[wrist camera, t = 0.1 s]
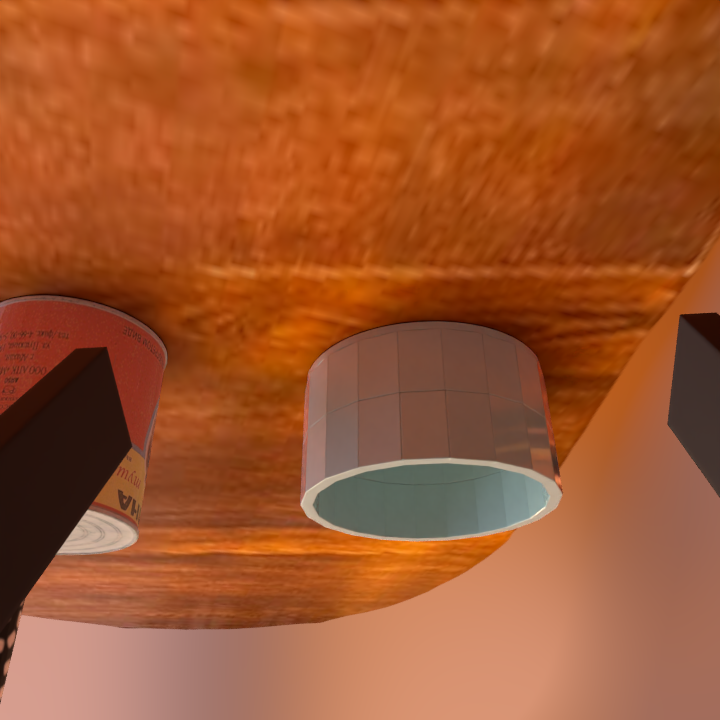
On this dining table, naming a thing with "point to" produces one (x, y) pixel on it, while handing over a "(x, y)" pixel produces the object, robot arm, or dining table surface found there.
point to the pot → (428, 434)
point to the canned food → (134, 382)
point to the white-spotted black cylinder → (8, 645)
